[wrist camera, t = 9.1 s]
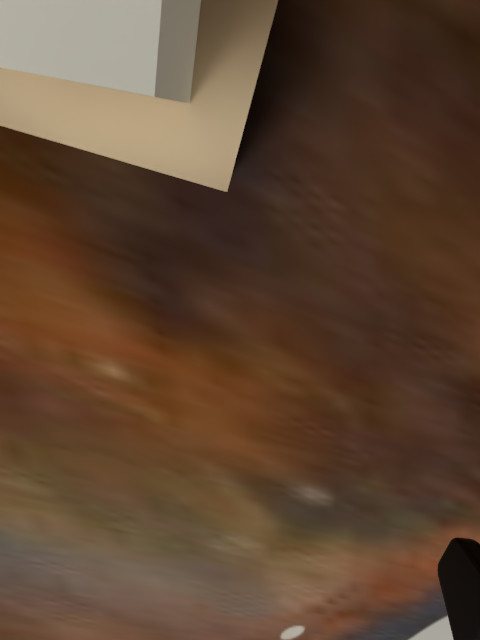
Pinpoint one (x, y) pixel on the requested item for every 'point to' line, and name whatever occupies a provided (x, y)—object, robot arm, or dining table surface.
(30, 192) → the dining table surface
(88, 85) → the oak block
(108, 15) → the off-white plain cube
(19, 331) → the dining table surface
